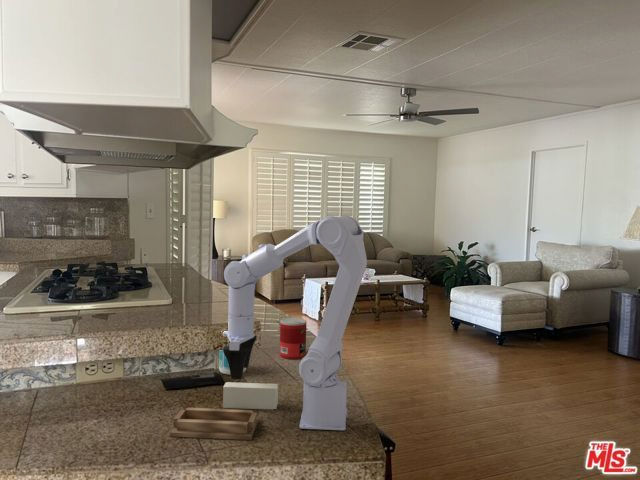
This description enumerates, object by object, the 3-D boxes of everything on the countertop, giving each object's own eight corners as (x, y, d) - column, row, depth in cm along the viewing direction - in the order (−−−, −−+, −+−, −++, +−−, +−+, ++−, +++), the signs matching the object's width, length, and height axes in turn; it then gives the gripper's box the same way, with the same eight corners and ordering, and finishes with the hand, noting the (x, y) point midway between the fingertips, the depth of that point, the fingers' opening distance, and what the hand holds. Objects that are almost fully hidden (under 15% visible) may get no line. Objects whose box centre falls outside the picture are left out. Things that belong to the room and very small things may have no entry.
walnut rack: (258, 420, 107) (258, 408, 107) (250, 440, 98) (251, 427, 98) (184, 417, 108) (184, 405, 108) (170, 436, 99) (170, 423, 99)
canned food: (305, 360, 150) (306, 323, 149) (278, 359, 150) (279, 323, 149) (306, 352, 157) (307, 318, 157) (280, 351, 157) (281, 317, 157)
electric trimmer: (160, 388, 125) (159, 376, 125) (222, 380, 131) (222, 368, 131) (161, 393, 122) (161, 381, 122) (225, 385, 128) (225, 373, 128)
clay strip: (277, 405, 116) (277, 383, 116) (276, 410, 113) (276, 388, 113) (225, 403, 117) (225, 382, 116) (222, 408, 114) (223, 386, 113)
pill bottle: (252, 370, 139) (252, 322, 138) (233, 377, 133) (234, 327, 132) (231, 365, 143) (232, 318, 142) (213, 372, 137) (213, 323, 136)
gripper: (230, 306, 121) (229, 362, 122) (215, 320, 106) (214, 383, 107) (259, 307, 121) (258, 363, 122) (248, 321, 106) (247, 384, 107)
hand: (240, 372), depth 114 cm, fingers open, 7 cm apart
